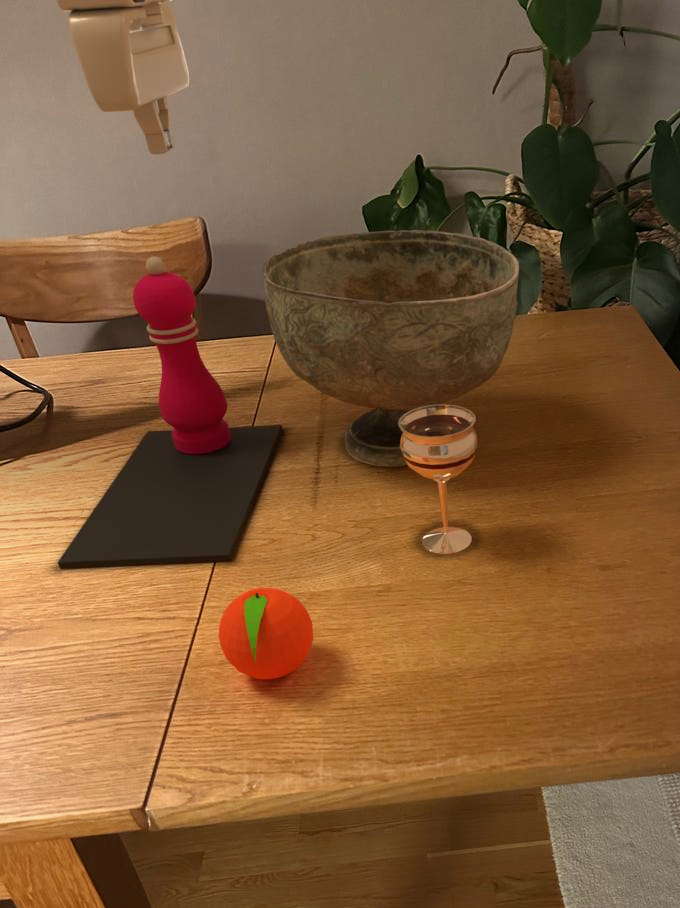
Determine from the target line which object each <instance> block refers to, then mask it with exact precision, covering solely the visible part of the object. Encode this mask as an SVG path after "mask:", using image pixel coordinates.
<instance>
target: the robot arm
mask: <svg viewBox="0 0 680 908" xmlns="http://www.w3.org/2000/svg"><path fill="white" fill-rule="evenodd" d="M172 1H173V0H56V4H57V7H58V8H59V9H60V10H61V11H63V12H69V14H68V27H69V31H70V35H71V39H72V42H73V45H74V49H75V51H76V56H77V58H78V61H79V63H80V64H79V65H80V67H81V70H82V73H83V76H84V79H85V82H86V84H87V88H88V90H89V92H90V94H91V97H92V99H93V100H94V101H95V103H96V105H97V107H98V108H99V109H100V110H101V111H102V112H104V113H109V112H110V113H111V112H113V113H114V112H127V111H133V115H134V118H135V120H136V122H137V123H138V126H139V128H140V129H141V131H142V133H143V135H144V137H145V141H146V145H147V148H148V152H150V154H151V155H164V154H167V153H168V152H170V151H171V150H172V149H173V148H174V146H175V143H174V140H173V135H172V129H171V128H172V127H171V107H170V102H169V99H168V96H171V95H173V94H175V93H177V92H179V91H181V90H184V89H186V88H188V87H189V85H190V75H189V68H188V64H187V60H186V56H185V51H184V48H183V44H182V41H181V37H180V32H179V28H178V26H177V22H176V18H175V16H174V12H173V11H172V9H171V7H170V4H168V3H167V2H172Z"/></svg>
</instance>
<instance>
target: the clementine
mask: <svg viewBox="0 0 680 908" xmlns="http://www.w3.org/2000/svg"><path fill="white" fill-rule="evenodd" d="M218 640H219V641H218V642H219V646H220V648H221V650H222V652H223V654H224V656H225V658H226V661H227V662H228V663H230V664H231V665H232V666H233V667H234V668H235V669H236V670H237V671H238V672H239V673H241V674H243V675H246V676H248V677H251V678H253V679H257V680H274V679H279V678H281V677H284V676H287V675H290V674H291V673H293V672H295V671H296V670H297V669H298V668H299V667H300V666H301V665H302V664H303V662H304V661H305V660H306V658H307V657H308V656H309V654H310V650H311V647H312V645H313V641H314V628H313V621H312V619H311V616H310V614H309V611H308V610H307V608H306V607H305V606H304V605H303V604H302V602H301V601H300V600H299V599H298V598H297V597H295V596H294V595H292V594H290V593H289V592H287V591H285V590H282V589H279V588H273V587H256V588H253V589H249V590H247V591H245V592H242V593H241V594H240V595H238V596H237V597H235V598H234V599H233V600H232V601H231V602H230V603H229V604H228V605H227V607H226V608H225V610H224V612H223V614H222V615H221V617H220V622H219V627H218Z"/></svg>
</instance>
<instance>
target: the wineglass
mask: <svg viewBox="0 0 680 908" xmlns="http://www.w3.org/2000/svg"><path fill="white" fill-rule="evenodd" d="M476 417H477V416H476V415H475V413H474V412H473V411H472V410H470V409H468V408H466V407H465V406H461V405H456V404H446V403H442V404H439V405H428V406H423V407H419V408H416V409H413V410H410V411H409V412H407V413H405V414H403V415H402V417H401V418H400V419H399V422H398V426H399V427H400V429H401V430H402V431H403V433H402V435H401V440H400V449H401V454H402V456H403V458H404V459H405V461H406V463H407V464H408V465H407V466H408V468H409V469H411V470H413V472H416V473H417V474H418V475H420V476H422V477H423V478H426V479H429V480H433V481H434V482H436V483H437V487H438V495H439V502H440V503H439V504H440V511H441V518H442V519H441V520H442V527H438V528H434V529H432V530H430V531H429V532H427V533H425V534H424V535H423V537H422V539H421V544H422V546H423V548H424V549H426V551H428V552H432V553H433V554H441V555H444V554H445V555H448V554H454V553H458V552H461V551H463V550H465V549H466V548H467V547H469V546H470V545H471V543H472V540H473V539H472V535H471V533H469V531H467V530H466V529H463V528H461V527H455V526H449V518H448V517H449V515H448V513H449V512H448V490H447V489H448V488H447V482H449V481H450V479H451V478H455V477H457V476H459V475H460V474H461V473H463V472H464V471H465V470H466V469H467V468H468V467H469V466H470V465H471V464H472V463H473V462H474V459H475V457H476V454H477V452H478V434H477V431H476V429H475V428H474V425H475V424H476V422H477V421H476V419H477V418H476Z"/></svg>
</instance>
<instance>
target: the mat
mask: <svg viewBox="0 0 680 908" xmlns="http://www.w3.org/2000/svg"><path fill="white" fill-rule="evenodd" d="M228 427H229V431H230V435H231V440H230V442H229V443H228V444H227V445H226V446H224V447H223V448H221V449H219V450H216V451H213V452H210V453H205V454H195V455H194V454H185V453H182V452H180V451H178V450H177V449H176V447H175V444H174V440H173V437H172V431H173V429H170V430H169V429H166V430H165V429H164V430H148V431H147V432H146V433H145V435H144V436H143V437H142V439H141V440H140V442H139V443H138V445H137V446H136V448H135V449H134V450H133V452H132V453H131V455H130V456H129V457H128V459H127V461H126V462H125V463H124V465H123V467H122V468H121V470H119V473H118V474H117V475H116V477H115V478H114V480H113V481H112V483H111V484H110V485H109V487H108V489H107V490H106V492H104V495H102V497H101V499H99V501H98V503H97V505H96V506H95V507H94V508H93V510H92V512H91V513H90V514H89V516H88V518H87V519H86V520H85V522H84V523H83V525H82V526H81V528H80V529H79V531H78V532H77V533H76V535H75V537H74V538H73V539H72V541H71V542H70V544H69V545H68V546H67V548H66V550H65V551H64V552H63V554H62V555H61V557H60V558H59V560H58V561H57V564H58V567H59V569H60V570H70V569H71V570H73V569H91V568H92V569H93V568H112V567H113V568H114V567H136V566H157V565H159V566H160V565H179V564H201V563H203V564H204V563H226V562H231V561H232V559H233V557H234V555H235V552H236V550H237V546H238V544H239V542H240V540H241V537H242V534H243V531H244V529H245V526H246V524H247V521H248V520H249V517H250V514H251V512H252V509H253V506H254V504H255V501H256V499H257V496H258V494H259V491H260V489H261V487H262V484H263V481H264V480H265V477H266V474H267V471H268V469H269V466H270V465H271V462H272V459H273V457H274V454H275V452H276V449H277V446H278V444H279V441H280V439H281V436H282V433H283V432H284V430H283V425H282V424H274V425H272V424H269V425H249V426H228Z"/></svg>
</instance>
